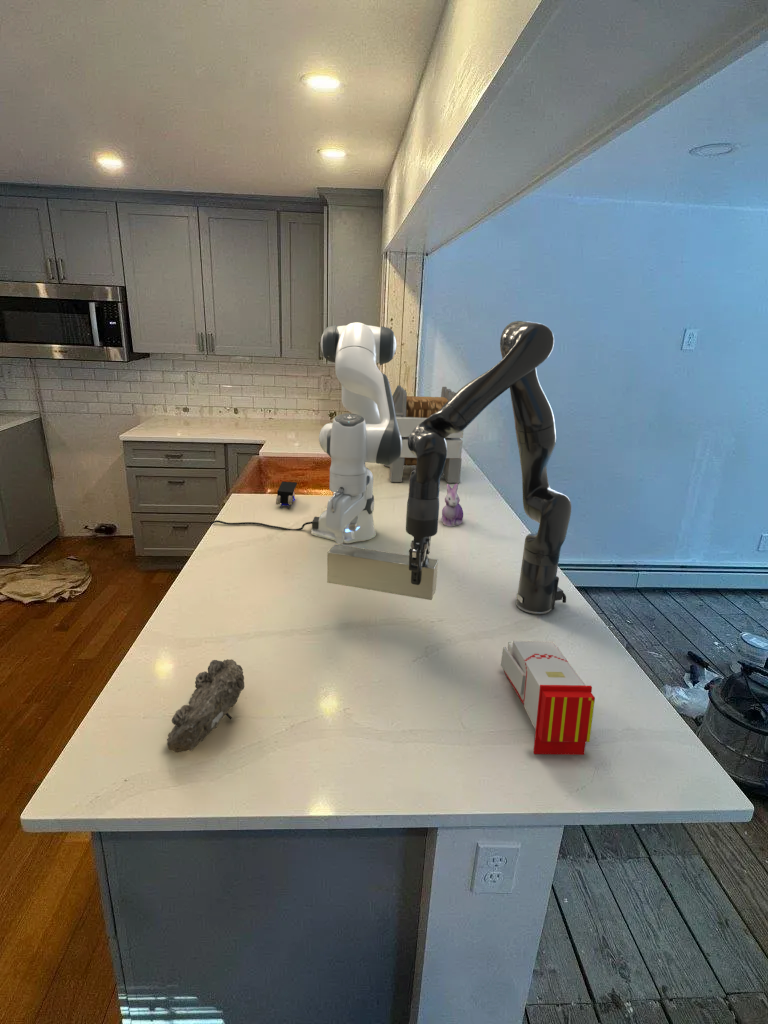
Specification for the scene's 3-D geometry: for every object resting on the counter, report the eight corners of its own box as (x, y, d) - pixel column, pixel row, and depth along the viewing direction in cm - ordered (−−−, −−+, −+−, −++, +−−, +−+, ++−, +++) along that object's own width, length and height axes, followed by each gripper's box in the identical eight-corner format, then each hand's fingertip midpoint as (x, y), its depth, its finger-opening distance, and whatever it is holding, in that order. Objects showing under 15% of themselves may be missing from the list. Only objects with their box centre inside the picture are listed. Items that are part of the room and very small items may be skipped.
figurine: (448, 528, 206) (452, 489, 201) (433, 519, 215) (436, 481, 210) (470, 525, 210) (473, 486, 205) (454, 516, 219) (457, 479, 214)
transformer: (382, 463, 289) (386, 382, 275) (445, 464, 293) (451, 384, 279) (390, 482, 257) (394, 392, 243) (460, 483, 261) (468, 394, 247)
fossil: (192, 660, 117) (244, 628, 112) (224, 691, 120) (276, 661, 115) (142, 746, 98) (202, 712, 93) (182, 779, 101) (242, 748, 96)
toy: (549, 624, 127) (604, 693, 98) (544, 678, 130) (596, 762, 100) (496, 622, 127) (535, 692, 97) (491, 677, 129) (528, 761, 100)
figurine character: (293, 513, 218) (297, 497, 231) (292, 495, 215) (297, 480, 228) (275, 513, 218) (281, 496, 231) (274, 495, 214) (280, 479, 228)
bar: (327, 582, 143) (327, 552, 140) (334, 573, 148) (334, 544, 145) (431, 600, 136) (434, 568, 133) (435, 590, 141) (438, 559, 138)
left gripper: (345, 496, 126) (344, 553, 131) (372, 474, 145) (370, 525, 150) (319, 492, 128) (318, 549, 132) (349, 471, 147) (348, 521, 151)
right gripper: (432, 526, 125) (427, 594, 131) (443, 506, 138) (439, 568, 144) (399, 521, 127) (395, 589, 133) (413, 502, 140) (410, 564, 146)
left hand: (346, 536), depth 141 cm, fingers open, 8 cm apart
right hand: (418, 578), depth 138 cm, fingers closed on bar, 5 cm apart
